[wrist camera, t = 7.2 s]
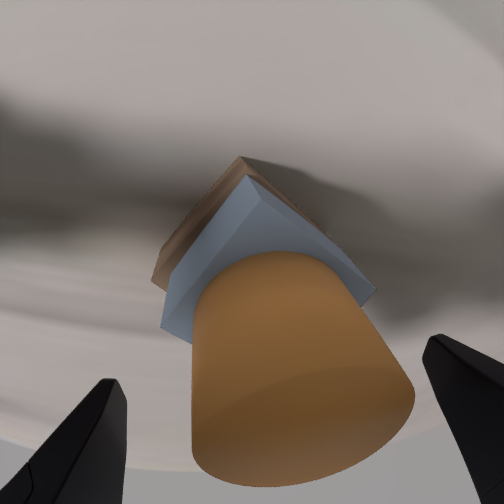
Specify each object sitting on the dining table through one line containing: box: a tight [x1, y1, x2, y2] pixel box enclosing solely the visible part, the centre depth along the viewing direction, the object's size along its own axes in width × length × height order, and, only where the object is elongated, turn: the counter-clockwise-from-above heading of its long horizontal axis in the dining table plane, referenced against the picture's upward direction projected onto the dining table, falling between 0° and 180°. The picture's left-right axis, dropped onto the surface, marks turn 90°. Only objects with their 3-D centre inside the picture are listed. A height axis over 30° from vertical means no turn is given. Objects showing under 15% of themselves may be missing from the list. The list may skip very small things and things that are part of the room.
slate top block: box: [160, 174, 376, 344], centre depth 11 cm, size 5×5×4 cm
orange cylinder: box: [191, 251, 415, 487], centre depth 8 cm, size 5×5×4 cm
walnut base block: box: [151, 156, 333, 292], centre depth 14 cm, size 6×6×4 cm
